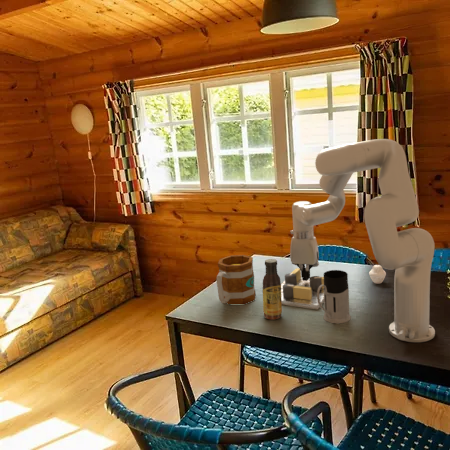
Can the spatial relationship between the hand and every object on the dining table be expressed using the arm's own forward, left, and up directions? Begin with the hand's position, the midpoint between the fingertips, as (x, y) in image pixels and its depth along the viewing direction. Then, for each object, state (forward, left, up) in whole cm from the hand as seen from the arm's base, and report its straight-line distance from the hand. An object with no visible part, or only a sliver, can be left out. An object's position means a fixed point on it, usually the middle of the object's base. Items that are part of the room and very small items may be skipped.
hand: (305, 279), depth 176 cm
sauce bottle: (-29, +1, -3) cm, 29 cm away
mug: (-22, +20, -3) cm, 30 cm away
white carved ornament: (+12, -24, -3) cm, 27 cm away
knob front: (-15, -2, -1) cm, 15 cm away
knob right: (-4, -8, -1) cm, 9 cm away
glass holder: (-25, -18, -3) cm, 31 cm away
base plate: (-8, -1, -3) cm, 9 cm away
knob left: (-2, +4, -1) cm, 5 cm away
